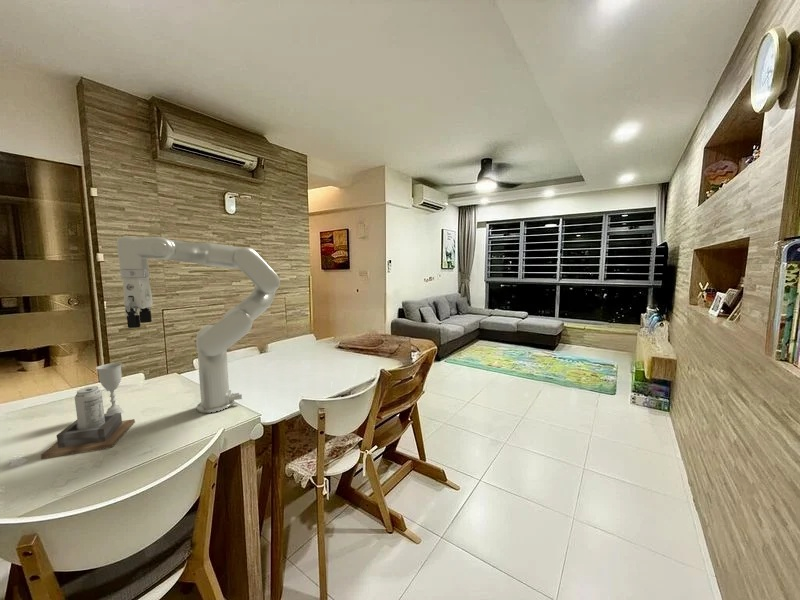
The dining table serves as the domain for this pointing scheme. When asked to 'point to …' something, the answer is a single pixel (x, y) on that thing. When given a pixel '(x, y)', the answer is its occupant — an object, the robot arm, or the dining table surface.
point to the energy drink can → (89, 408)
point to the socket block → (89, 437)
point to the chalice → (111, 382)
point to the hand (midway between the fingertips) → (140, 324)
